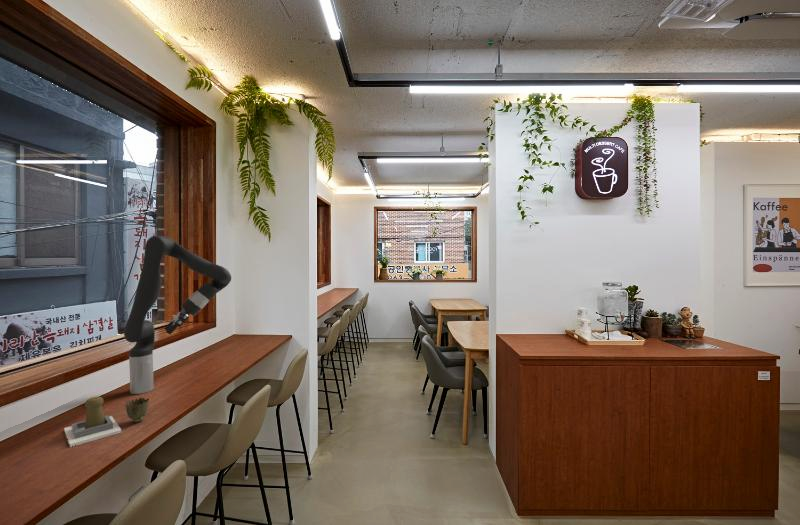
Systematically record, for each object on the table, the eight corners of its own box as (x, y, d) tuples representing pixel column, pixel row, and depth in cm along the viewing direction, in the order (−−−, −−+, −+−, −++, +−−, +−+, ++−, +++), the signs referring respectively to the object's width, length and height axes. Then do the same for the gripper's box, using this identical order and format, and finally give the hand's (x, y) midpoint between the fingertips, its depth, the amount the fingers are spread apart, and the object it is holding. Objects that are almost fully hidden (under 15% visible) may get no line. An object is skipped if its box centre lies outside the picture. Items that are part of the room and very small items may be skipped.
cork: (92, 432, 134) (91, 401, 134) (80, 430, 136) (79, 400, 135) (109, 424, 140) (108, 395, 140) (97, 423, 141) (96, 394, 141)
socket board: (64, 430, 138) (64, 422, 138) (111, 418, 148) (111, 410, 148) (70, 447, 125) (69, 438, 125) (121, 432, 136) (121, 424, 136)
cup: (154, 418, 147) (153, 398, 147) (135, 426, 140) (134, 405, 140) (140, 416, 149) (139, 396, 149) (121, 424, 143) (120, 403, 142)
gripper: (186, 296, 175) (158, 324, 169) (190, 299, 164) (160, 328, 157) (199, 306, 179) (172, 334, 172) (204, 310, 167) (175, 339, 161)
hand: (166, 331), depth 165 cm, fingers open, 8 cm apart
